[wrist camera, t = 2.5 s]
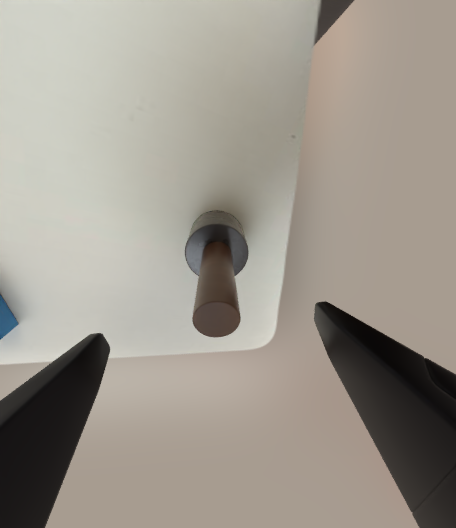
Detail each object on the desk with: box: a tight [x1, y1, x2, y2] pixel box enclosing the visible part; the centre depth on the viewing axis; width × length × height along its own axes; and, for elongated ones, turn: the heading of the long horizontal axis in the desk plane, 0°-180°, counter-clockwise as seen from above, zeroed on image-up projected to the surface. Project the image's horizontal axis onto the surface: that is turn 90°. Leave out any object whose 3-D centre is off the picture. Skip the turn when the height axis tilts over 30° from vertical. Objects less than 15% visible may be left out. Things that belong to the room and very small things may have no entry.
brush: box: [185, 211, 248, 337], centre depth 14 cm, size 5×5×11 cm
